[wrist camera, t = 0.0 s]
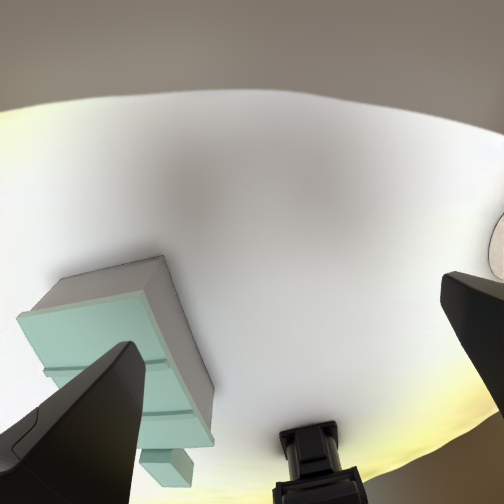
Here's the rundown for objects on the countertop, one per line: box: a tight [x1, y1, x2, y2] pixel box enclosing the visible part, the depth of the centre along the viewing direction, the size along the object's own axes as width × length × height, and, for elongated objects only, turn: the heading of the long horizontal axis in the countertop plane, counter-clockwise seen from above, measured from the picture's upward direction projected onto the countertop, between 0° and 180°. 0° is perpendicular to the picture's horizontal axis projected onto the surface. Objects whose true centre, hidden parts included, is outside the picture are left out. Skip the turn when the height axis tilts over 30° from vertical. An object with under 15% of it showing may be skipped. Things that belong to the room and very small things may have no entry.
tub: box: [30, 255, 214, 431], centre depth 23 cm, size 14×10×6 cm
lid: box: [16, 290, 214, 488], centre depth 21 cm, size 20×11×3 cm, turn 12°
